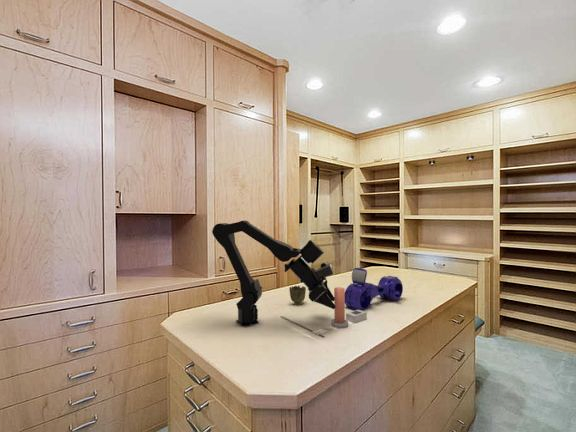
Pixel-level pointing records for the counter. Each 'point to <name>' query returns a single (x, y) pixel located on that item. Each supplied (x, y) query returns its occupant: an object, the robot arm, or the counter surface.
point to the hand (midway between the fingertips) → (334, 304)
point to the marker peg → (339, 308)
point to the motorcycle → (370, 290)
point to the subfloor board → (317, 332)
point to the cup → (297, 294)
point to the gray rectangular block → (356, 316)
